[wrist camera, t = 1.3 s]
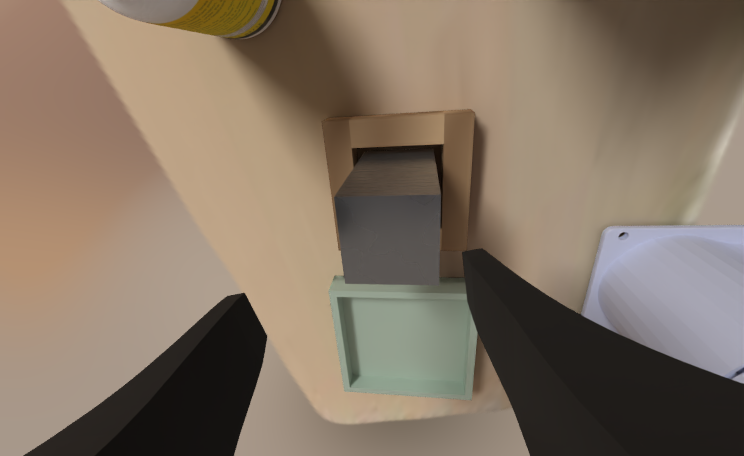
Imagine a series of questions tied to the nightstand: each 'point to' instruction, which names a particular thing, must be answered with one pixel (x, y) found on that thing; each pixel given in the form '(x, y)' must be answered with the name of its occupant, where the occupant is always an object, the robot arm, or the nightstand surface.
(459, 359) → the sage tray
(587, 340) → the robot arm
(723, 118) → the nightstand surface
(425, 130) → the oak holder
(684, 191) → the nightstand surface
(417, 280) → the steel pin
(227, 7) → the supplement bottle
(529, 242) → the nightstand surface
